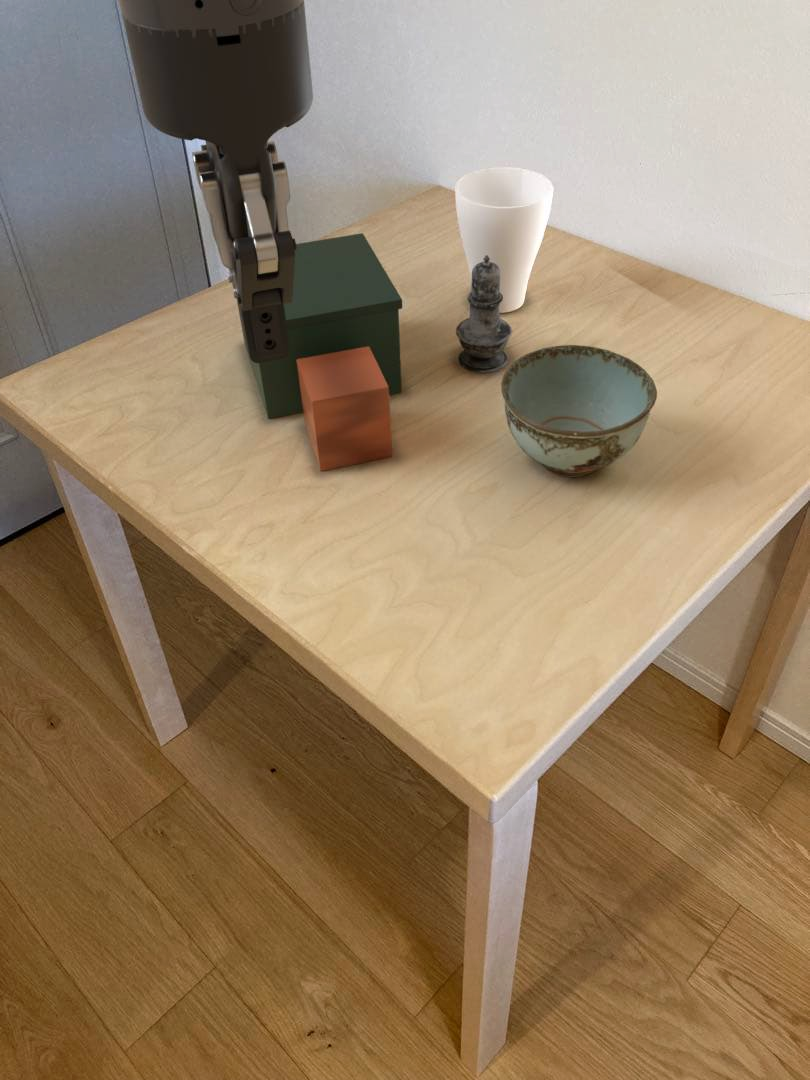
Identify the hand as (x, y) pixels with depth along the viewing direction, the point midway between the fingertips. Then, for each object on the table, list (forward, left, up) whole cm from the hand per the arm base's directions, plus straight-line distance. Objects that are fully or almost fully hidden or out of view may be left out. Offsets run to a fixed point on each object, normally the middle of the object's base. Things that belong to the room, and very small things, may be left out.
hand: (268, 354), depth 49 cm
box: (+9, +38, -27) cm, 47 cm away
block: (+9, +25, -27) cm, 38 cm away
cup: (+32, +45, -27) cm, 62 cm away
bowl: (+28, +16, -27) cm, 42 cm away
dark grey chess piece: (+26, +34, -27) cm, 51 cm away
